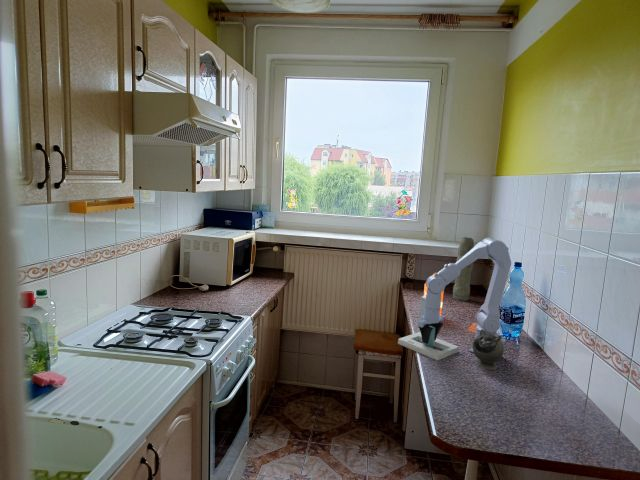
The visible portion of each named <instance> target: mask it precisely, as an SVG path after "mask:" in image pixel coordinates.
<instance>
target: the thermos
mask: <svg viewBox="0 0 640 480" xmlns="http://www.w3.org/2000/svg"><path fill="white" fill-rule="evenodd" d="M474 247H475V241H474V239H473V238H472V237H466V236H465V237H464V236H463V237H461V239H460V241H459V246H458V252H457V258H456V262H457V261H458V260H460V259H461V258H462V257H463V256H464V255H465V254H467V253H468V252H469V251H470V250H471V249H473V248H474ZM473 268H474V262H472V263H471V264H469V265H468V266H466V267H465V268H464V269H462V270H461V272H460V276H458V277H457V278H456V279H454V285H453V288H452V289H453V290H452V298H453V300H456V301H460V300H461V301H462V302H467V300H468V301H469V298H470V294H471V286H470V285H471V276H472V270H473ZM461 301H460V302H461Z"/></svg>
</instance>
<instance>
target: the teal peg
mask: <svg viewBox="0 0 640 480" xmlns="http://www.w3.org/2000/svg"><path fill="white" fill-rule="evenodd" d="M429 327H432V328H433V330H432V331H431V334H430V337H429V342H428V344H426V343H423V342H421V343H422V344H425V346H427V347H430V348H432V349H434V347H435V346H434V337H435V327H433V326H429Z"/></svg>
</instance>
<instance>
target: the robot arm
mask: <svg viewBox="0 0 640 480" xmlns="http://www.w3.org/2000/svg"><path fill="white" fill-rule="evenodd" d="M509 250H510V249H509V247H508V246H507V245H506V244H505V242H503V241H501V240H498V239H495V238H493V237H489V236H488V237H486V238H483V240H482V241H479V242H477V244H476V245H474V248H473V249H471V250H470V251H469V252H468V253H467V254H465V255H464V256H463V257H462V258H461V259H460V260H458V261H457V260H456V262H454V263H452V262H451V263H450V262H449V263H448V264H447V263H445V264H444V265H443V268H442V269H440V270H439V271H438V272H434V273H433V274H434V275H435V276H432V275H430V276H429V277H428V278H427V279H426V281H425V283H424V284H426V286H427V293H426V300H425V310H424V315H423V316H421V318H422V319H421V320H420V321H418V320H417V327H418V328H419V329H418V330H420V331H419V332H421V336H422V342H423V343H426V344H428V342H429V337H430V334H431V331H432V330H433V328H432V327H429V326H433V327H435V337H434V341H435V340H436V338H437V337H438V335H439V332H440V331H441V329H442V327H443V325H444V323H443V321H444V319H445V316H444V315H442V314H441V315H440V306H441V294H442V292H443V291H444V292H445V288H446V286H447V285H449V284H450V283H452V282H453V281H455V279H456V278H457V277H458V276H460V272H461V270H462V269H464V268H465V267H466V266H468V265H469V264H471V263H472V262H473V263H474V262H475V261H477V260H478V259H488V258H490V259H491V261H492V262H493V264H494V266H493V267H494V268H493V270H492V275H491V278H490V281H489V286H488V289H487V293H486V296H485V299H484V303H483V304H482V305H480V308H479V311H478V312H476V314H475V318H474V319H475V322H476V323H477V325H476V328H475V336H474V339H475V338H476V337H477V336H479V335H480V332H481V329H482V330H483V331H484V332H485V333H490V334H493V335H495V336H497V337H498V336H501V337H502V338H501V341H502V343H503V344H504V337H503V335H502V334H499V332H498V331H499V330H500V328H501V321H500V318H501V313H500V306H501V302H502V298H503V295H504V291H505V288H506V284H507V280H508V278H509V274H510V271H511V266H512V259H511V257H510V252H509ZM422 342H421V343H422ZM468 351H469V352H472V353H474V352H473V347H472V348H470V349H469V350H468Z"/></svg>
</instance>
